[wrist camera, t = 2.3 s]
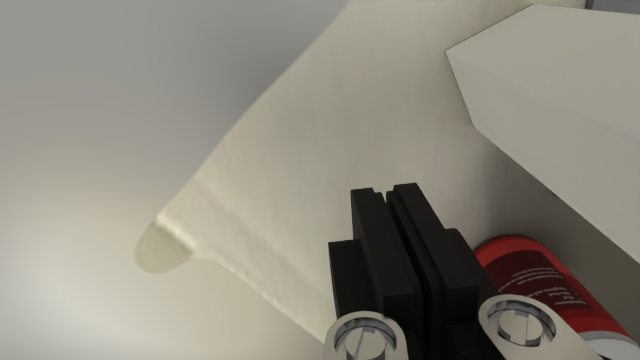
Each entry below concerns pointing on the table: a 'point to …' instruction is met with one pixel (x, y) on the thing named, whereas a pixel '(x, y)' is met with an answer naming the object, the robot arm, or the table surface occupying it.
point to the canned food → (554, 292)
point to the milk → (564, 106)
